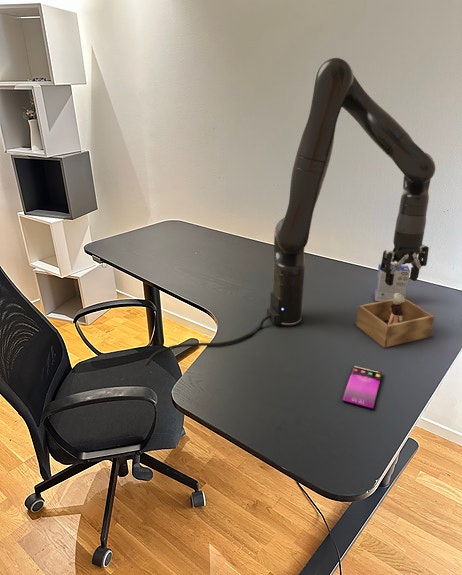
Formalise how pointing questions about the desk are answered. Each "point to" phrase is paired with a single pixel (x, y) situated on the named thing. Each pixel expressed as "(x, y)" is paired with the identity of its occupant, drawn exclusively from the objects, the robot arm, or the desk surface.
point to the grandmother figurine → (396, 309)
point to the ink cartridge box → (399, 284)
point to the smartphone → (362, 387)
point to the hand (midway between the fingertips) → (401, 282)
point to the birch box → (398, 333)
